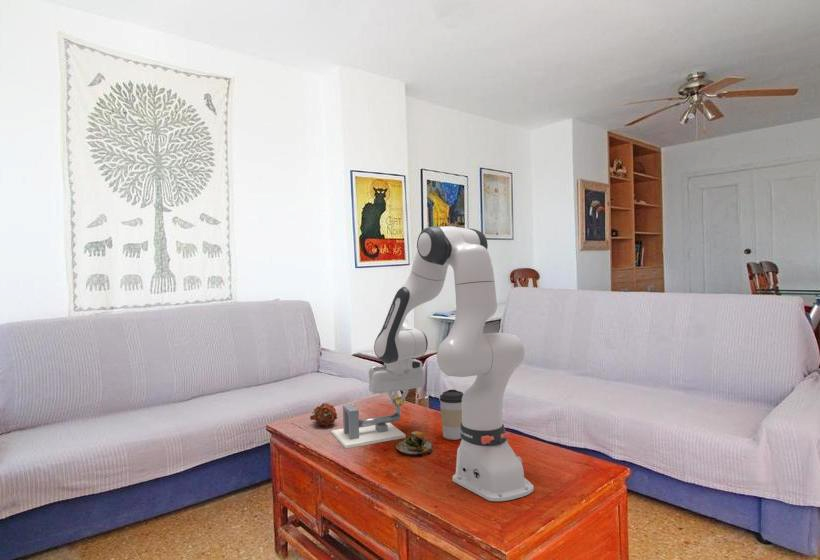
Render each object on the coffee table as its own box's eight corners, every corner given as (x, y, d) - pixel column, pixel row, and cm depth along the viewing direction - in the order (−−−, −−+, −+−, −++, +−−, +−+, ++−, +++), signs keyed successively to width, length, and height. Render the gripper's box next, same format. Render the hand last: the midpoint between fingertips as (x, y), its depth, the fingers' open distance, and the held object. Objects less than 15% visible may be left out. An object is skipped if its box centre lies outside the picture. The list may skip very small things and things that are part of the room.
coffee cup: (468, 440, 161) (467, 395, 161) (440, 440, 162) (439, 395, 161) (465, 431, 170) (464, 388, 170) (439, 431, 171) (438, 388, 170)
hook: (397, 422, 176) (397, 394, 176) (404, 427, 170) (404, 398, 170) (346, 431, 168) (345, 401, 167) (351, 436, 162) (351, 406, 162)
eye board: (387, 423, 180) (387, 395, 179) (405, 437, 165) (405, 407, 165) (331, 433, 171) (331, 403, 170) (345, 448, 156) (344, 416, 156)
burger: (391, 446, 158) (390, 423, 158) (425, 441, 162) (425, 419, 162) (402, 460, 147) (401, 436, 147) (438, 455, 151) (438, 431, 150)
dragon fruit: (331, 434, 174) (316, 430, 184) (347, 416, 179) (331, 413, 188) (316, 417, 172) (302, 414, 181) (333, 399, 176) (318, 397, 186)
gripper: (372, 368, 165) (373, 409, 165) (426, 362, 173) (427, 401, 174) (365, 365, 170) (366, 404, 171) (418, 359, 179) (419, 396, 179)
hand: (397, 402), depth 172 cm, fingers closed on hook, 2 cm apart
